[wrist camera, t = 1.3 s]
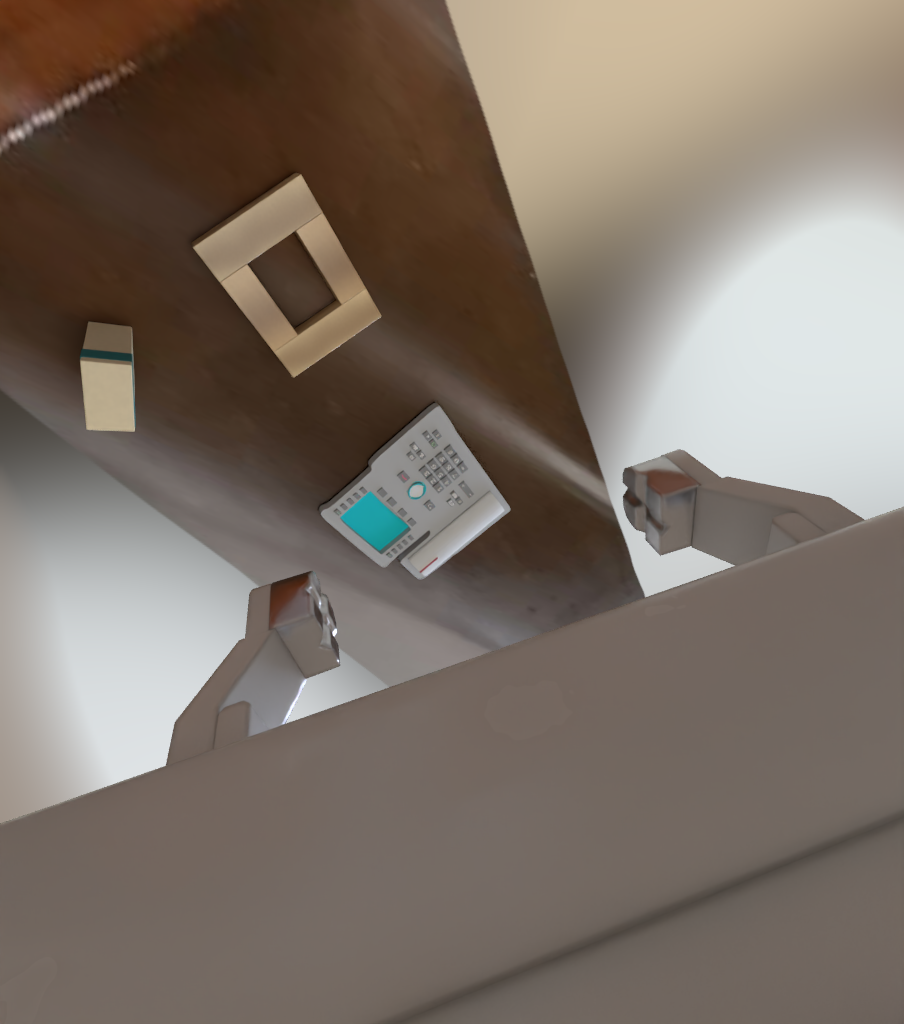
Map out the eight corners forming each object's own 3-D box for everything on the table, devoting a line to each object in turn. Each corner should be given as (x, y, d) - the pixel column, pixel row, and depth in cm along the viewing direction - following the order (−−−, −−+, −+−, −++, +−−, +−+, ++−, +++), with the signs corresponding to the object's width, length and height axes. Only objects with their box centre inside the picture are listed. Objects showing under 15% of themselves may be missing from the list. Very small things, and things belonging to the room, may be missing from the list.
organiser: (190, 243, 45) (192, 247, 44) (295, 172, 46) (300, 173, 44) (289, 371, 55) (293, 377, 54) (375, 311, 56) (381, 316, 54)
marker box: (87, 320, 45) (78, 359, 38) (132, 326, 47) (132, 364, 40) (92, 383, 48) (85, 430, 41) (135, 386, 50) (135, 432, 42)
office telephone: (517, 513, 79) (415, 598, 80) (508, 504, 81) (408, 587, 82) (443, 409, 63) (315, 516, 63) (434, 400, 65) (310, 504, 65)
